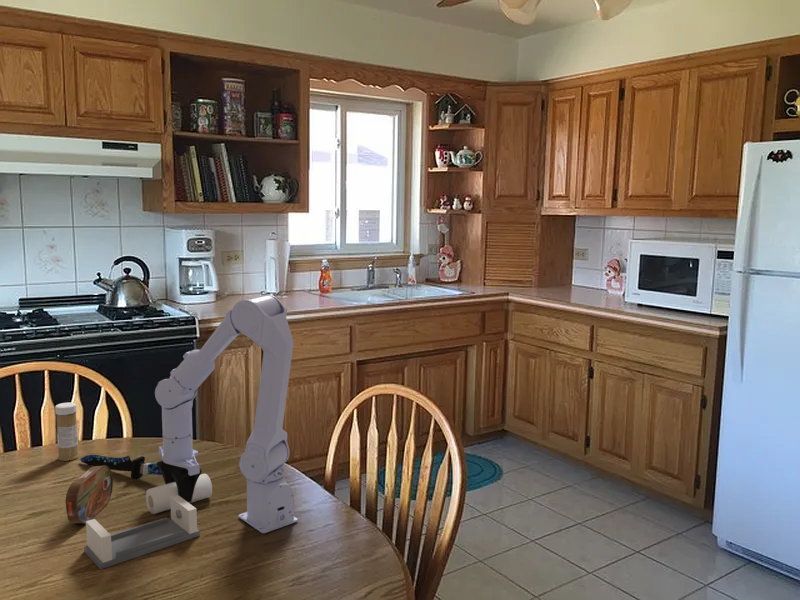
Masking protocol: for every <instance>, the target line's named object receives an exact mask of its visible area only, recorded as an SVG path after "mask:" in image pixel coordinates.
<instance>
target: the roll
mask: <svg viewBox="0 0 800 600" xmlns="http://www.w3.org/2000/svg"><path fill="white" fill-rule="evenodd" d="M175 495H178V489H177V485H176V482H173V483H169V484H165V483H164V484H163V485H158V486H154V487H152V488H151V487H150V488H148V489H146V493H145V502H146V506H147V509H148V511H149V513H150V514H151V515H156V514H159V513H162V512H165V511H169V510H171V504H170V497H172V496H175ZM212 496H213V484H212V480H211V479H210V477H209V474H206V473H201V474H200V476H199V478H198V480H197V482H196V485H195V488H194V492H193V496H192V500H191V502H189V503H190V504H191V503H195V502H198V501H201V500H205V499H208V498H210V497H212Z"/></svg>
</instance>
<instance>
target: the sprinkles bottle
mask: <svg viewBox="0 0 800 600" xmlns="http://www.w3.org/2000/svg"><path fill="white" fill-rule="evenodd" d="M54 409H55V413H54V414H55V416H56V431H57V432H56V433H57V434H56V438H57V448H58V451H57V452H58V457H57V459H58V460H59V461H65V462H67V461H68V462H69V460H70V461H73V460H76V459H77V458H79V455H80V454H79V446H78V445H79V441H78V436H79V435H78V423H77V409H78V408H77V404H76V403H75V402H72V401H71V402H62V403H58V404H56V405H55V406H54Z"/></svg>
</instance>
